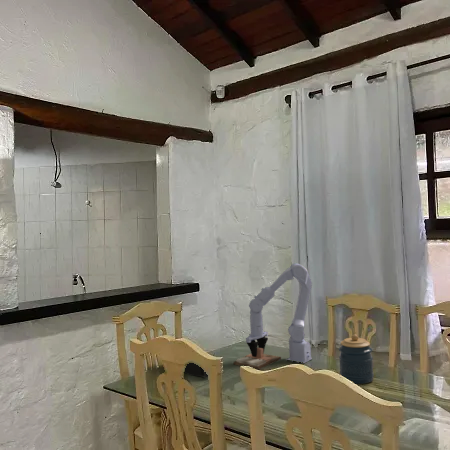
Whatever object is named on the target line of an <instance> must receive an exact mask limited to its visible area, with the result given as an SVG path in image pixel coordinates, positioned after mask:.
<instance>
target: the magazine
mask: <svg viewBox="0 0 450 450" xmlns="http://www.w3.org/2000/svg"><path fill="white" fill-rule="evenodd" d="M185 374H187V375H191V376H194V377H203V378H209V377H208V375H207V374H206V372H204V370H203V369H202V368H201V367H199V366H198V365H196V364H194V363H189V364H187V366H186V368H185Z"/></svg>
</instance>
